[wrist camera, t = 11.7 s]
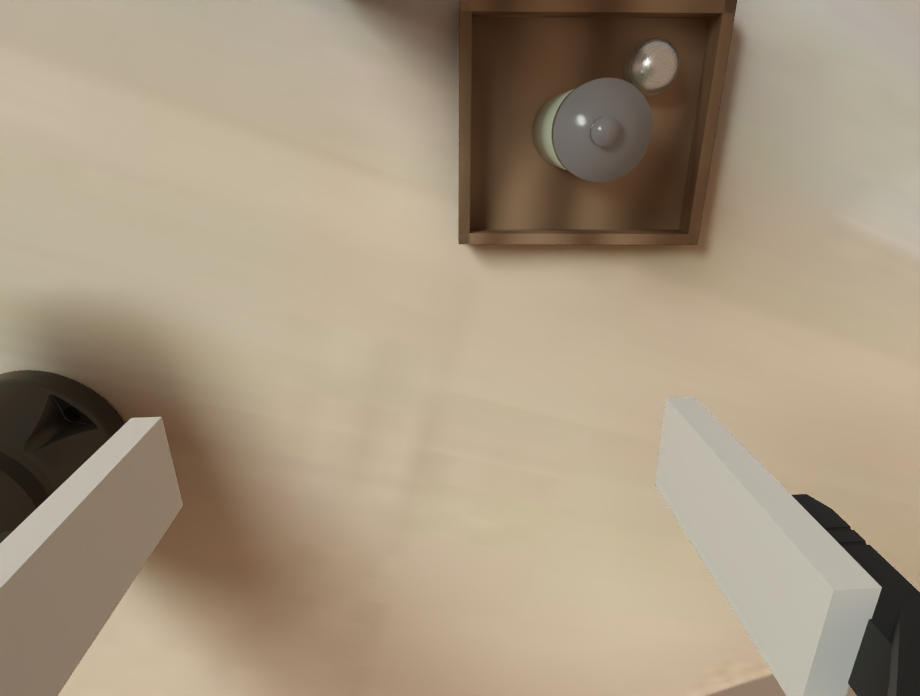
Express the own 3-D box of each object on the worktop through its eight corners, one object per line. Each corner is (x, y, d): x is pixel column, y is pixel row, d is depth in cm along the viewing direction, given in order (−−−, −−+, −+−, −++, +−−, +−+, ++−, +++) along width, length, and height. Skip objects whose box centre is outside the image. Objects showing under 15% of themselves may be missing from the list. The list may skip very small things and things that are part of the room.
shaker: (528, 169, 42) (553, 182, 32) (532, 88, 40) (561, 75, 30) (600, 170, 42) (649, 183, 32) (608, 89, 40) (663, 77, 30)
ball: (615, 97, 40) (629, 94, 37) (620, 40, 39) (636, 32, 35) (664, 97, 40) (683, 95, 37) (672, 41, 39) (692, 33, 36)
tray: (458, 237, 44) (458, 244, 42) (459, 4, 38) (460, -4, 36) (684, 238, 44) (697, 244, 42) (720, 6, 39) (737, -2, 36)
